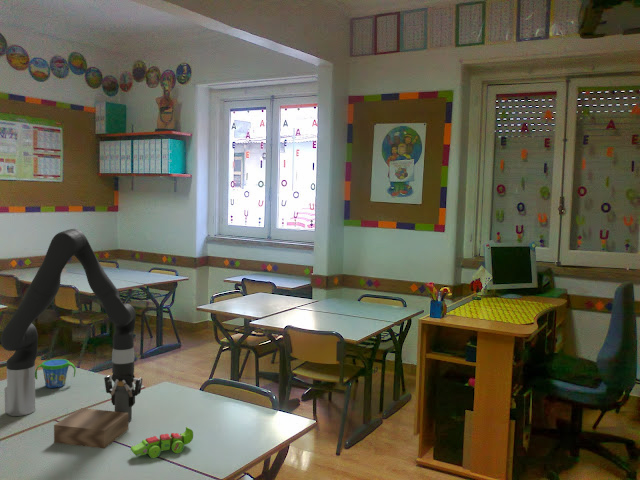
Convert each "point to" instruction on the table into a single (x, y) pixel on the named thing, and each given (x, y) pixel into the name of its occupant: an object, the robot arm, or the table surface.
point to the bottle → (122, 400)
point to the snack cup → (55, 372)
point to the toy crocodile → (163, 444)
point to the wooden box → (91, 428)
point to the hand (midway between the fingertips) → (123, 405)
